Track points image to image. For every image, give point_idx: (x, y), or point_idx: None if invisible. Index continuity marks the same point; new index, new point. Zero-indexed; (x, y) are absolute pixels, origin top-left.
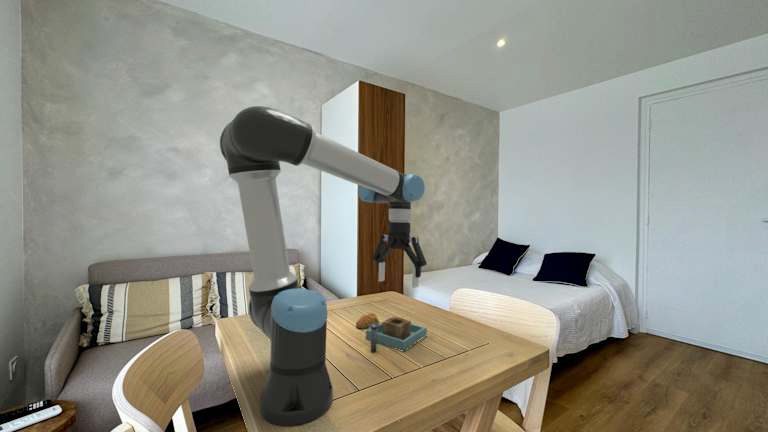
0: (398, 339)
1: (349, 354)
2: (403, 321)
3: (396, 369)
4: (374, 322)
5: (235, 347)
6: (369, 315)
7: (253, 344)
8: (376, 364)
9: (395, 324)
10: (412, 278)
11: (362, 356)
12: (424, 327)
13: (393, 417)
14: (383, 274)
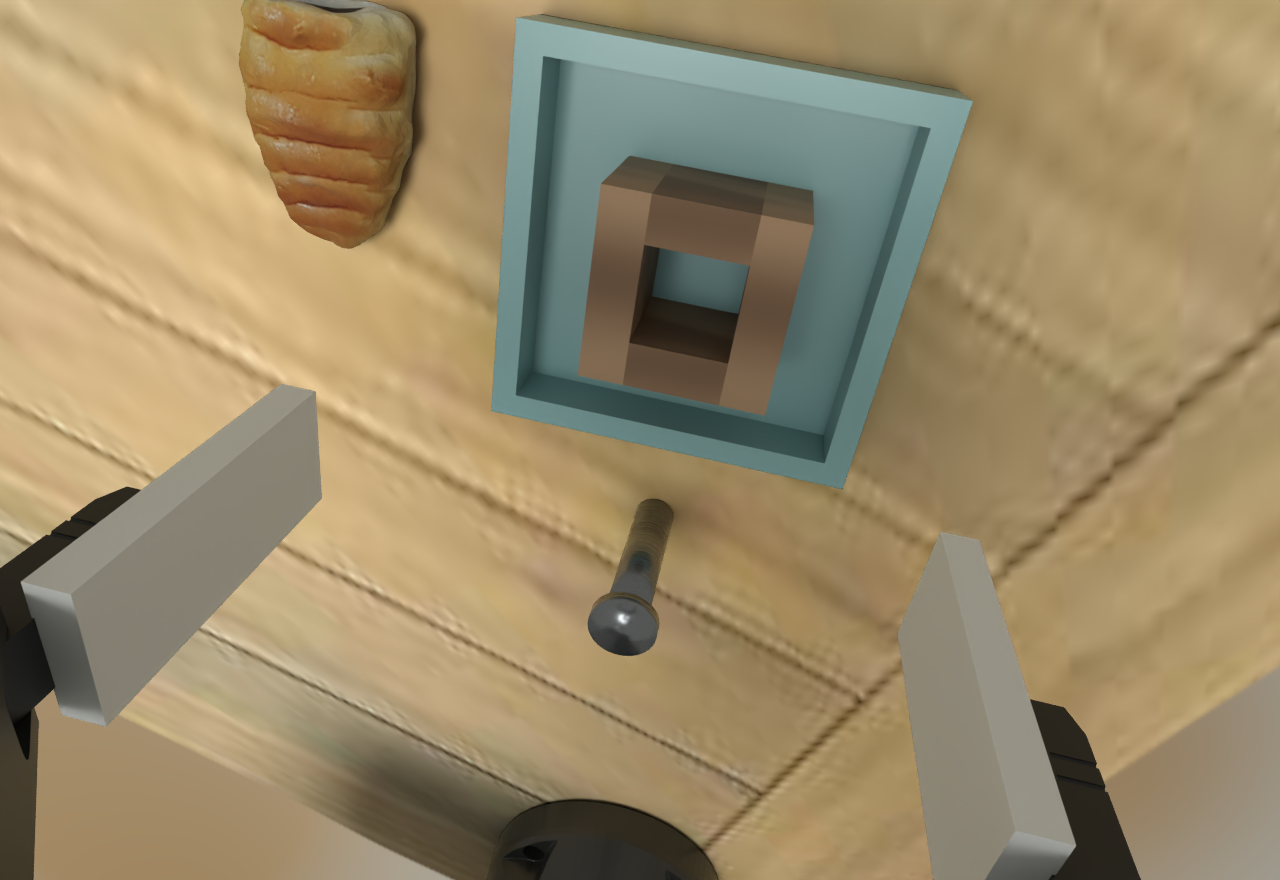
0: (787, 465)
1: (554, 585)
2: (748, 278)
3: (859, 636)
4: (403, 114)
5: None
6: (305, 94)
7: None
8: (739, 626)
9: (707, 383)
10: (913, 743)
11: None
12: (947, 106)
13: None
14: (255, 482)
